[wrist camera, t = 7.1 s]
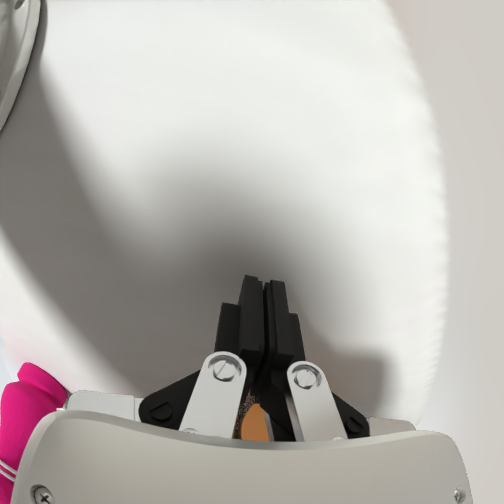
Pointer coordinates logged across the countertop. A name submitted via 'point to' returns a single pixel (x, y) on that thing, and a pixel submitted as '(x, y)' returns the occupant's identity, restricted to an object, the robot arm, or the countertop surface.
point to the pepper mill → (24, 418)
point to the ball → (254, 424)
